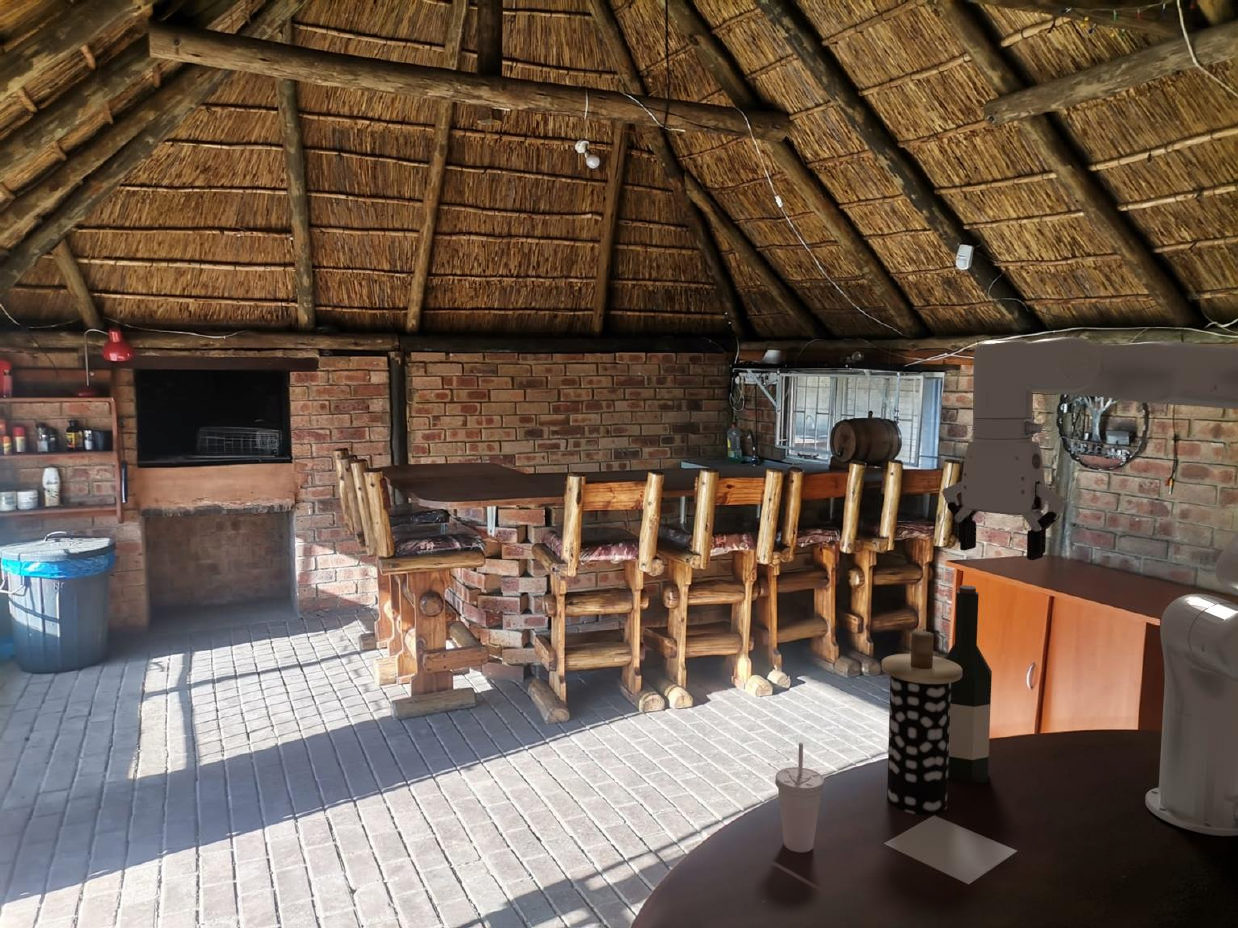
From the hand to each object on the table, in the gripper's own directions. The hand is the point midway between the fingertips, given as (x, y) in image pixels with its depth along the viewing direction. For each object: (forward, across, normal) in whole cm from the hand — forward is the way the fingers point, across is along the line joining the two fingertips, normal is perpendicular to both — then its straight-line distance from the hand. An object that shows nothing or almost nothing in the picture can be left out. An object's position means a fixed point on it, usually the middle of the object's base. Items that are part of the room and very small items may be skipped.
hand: (1000, 553), depth 120 cm
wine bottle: (+38, +10, -8) cm, 40 cm away
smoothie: (+37, +12, +29) cm, 49 cm away
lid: (+18, +8, +6) cm, 20 cm away
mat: (+38, -1, +14) cm, 40 cm away
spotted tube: (+38, +9, +6) cm, 39 cm away
